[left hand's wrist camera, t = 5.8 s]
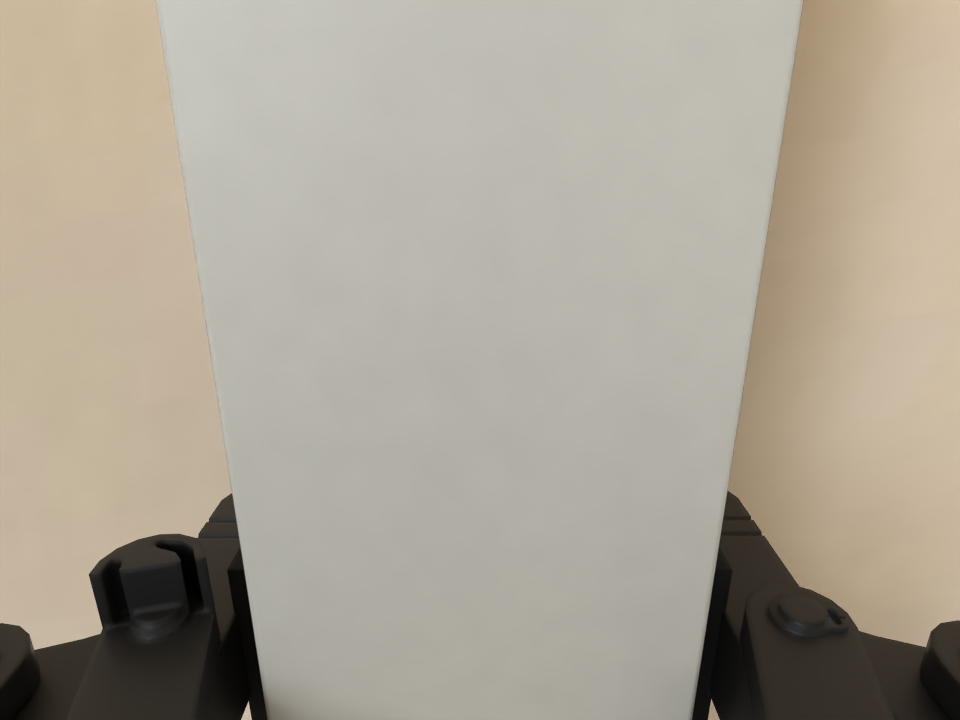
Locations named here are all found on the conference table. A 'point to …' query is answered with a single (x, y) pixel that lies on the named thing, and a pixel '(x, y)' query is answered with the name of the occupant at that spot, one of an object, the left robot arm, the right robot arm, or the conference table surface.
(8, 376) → the conference table surface
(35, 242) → the conference table surface
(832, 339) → the conference table surface
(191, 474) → the conference table surface
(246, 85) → the bar
